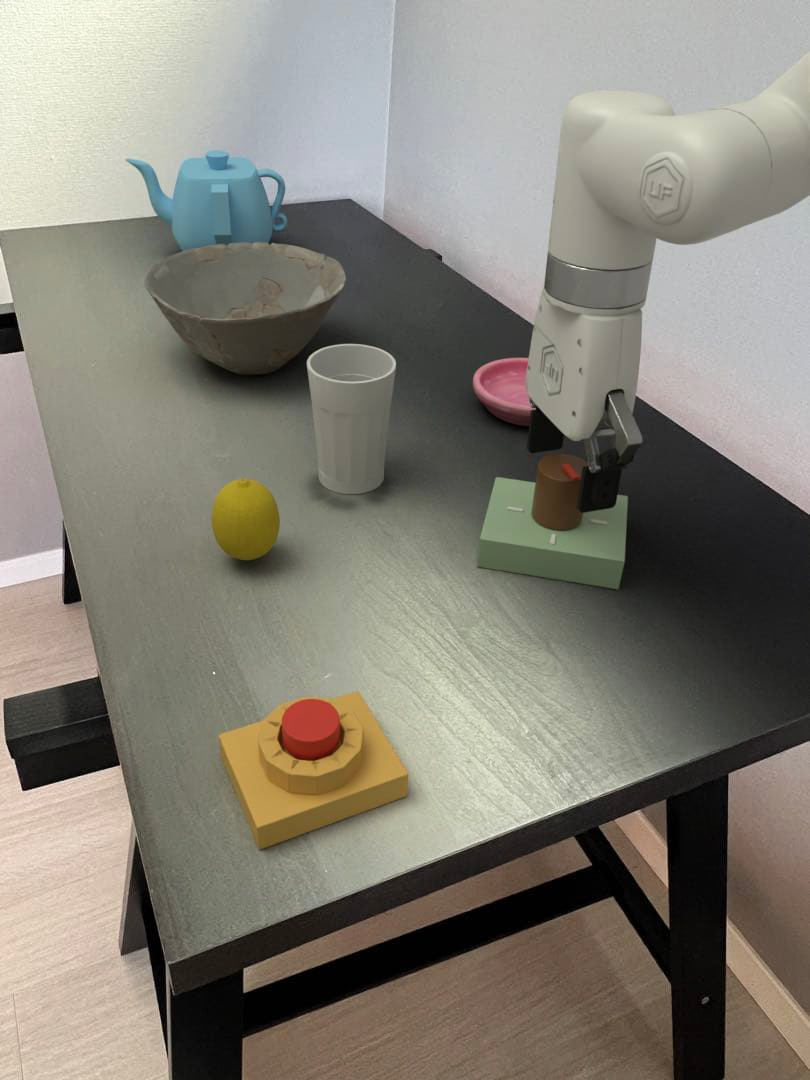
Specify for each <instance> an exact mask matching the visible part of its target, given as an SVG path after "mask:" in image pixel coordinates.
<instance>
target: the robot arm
mask: <svg viewBox="0 0 810 1080" xmlns="http://www.w3.org/2000/svg"><path fill="white" fill-rule="evenodd" d="M809 196H810V50H809V51H808V52H807V53H806V54H804V55H803V57H801V58H800V59H799V60H798V61H797V62H795V64H793V66H792V67H790V68H789V69H788V70H787V71H785V72H784V73H783V74H782V75H781V76H780V77H778V78H777V79H776V80H775V81H773V83H771V84H770V85H769V86H768V87H767V88H765V90H764V89H763V91H762V92H760V93H759V94H757V95H756V96H755V97H753V98H752V99H751V100H746V101H742V102H735V103H732V104H727V105H722V106H719V107H714V108H711V109H707V110H703V111H696V112H691V113H686V114H680V115H676V113H675V110H674V108H673V106H672V105H671V104H670V103H669V102H668V101H667V100H666V99H664V98H662V97H660V96H658V95H655V94H651V93H647V92H642V91H636V90H635V91H634V90H623V89H602V90H591V91H587V92H583V93H581V94H577V95H576V96H575V97H573V98H572V99H571V100H570V102H569V103H568V104H567V105H566V107H565V109H564V112H563V114H562V119H561V126H560V134H559V142H558V151H557V162H556V171H555V180H554V189H553V199H552V209H551V218H550V228H549V237H548V246H547V256H546V265H545V273H544V282H543V284H544V285H543V288H542V291H541V294H540V297H539V301H538V305H537V309H536V314H535V318H534V323H533V329H532V334H531V340H530V346H529V353H528V358H529V359H528V366H527V374H526V391H527V393H528V395H529V397H530V399H529V401H530V406H531V407H532V408H536V409H535V410H531V414H530V423H529V426H528V433H527V435H528V436H527V443H526V449H527V451H528V452H529V453H530V454H538V453H544V452H552V451H557V450H561V449H562V448H563V445H564V439H565V437H566V438H568V439H569V440H571V441H572V442H580V441H583V445H584V451H585V456H586V462H587V463H588V466H585V467H583V468H582V475H581V481H580V488H579V495H578V502H577V509H578V510H579V511H580V512H581V513H586V512H592V511H597V510H603V509H609V508H613V507H614V506H615V505H616V500H617V495H619V488H620V483H621V477H622V471H623V470H624V469H627V467H628V465H629V464H630V463H632V462H633V461H634V459H635V455H636V453H637V452H638V450H639V449H640V447H641V446H642V444H643V436H642V433H641V431H640V428H639V426H638V424H637V422H636V420H635V416H634V415H633V414H634V413H633V412H634V408H635V402H636V396H637V390H638V383H639V382H638V381H639V372H640V363H641V353H642V352H641V351H642V336H643V311H642V309H643V308H644V307H645V305H646V302H647V296H648V290H649V283H650V278H651V274H652V268H653V267H652V266H653V261H654V256H655V251H656V245H657V240H659V241H662V242H665V243H669V244H673V245H680V246H689V245H697V244H701V243H705V242H708V241H711V240H714V239H716V238H719V237H721V236H725V235H726V234H730V233H732V232H734V231H736V230H737V231H738V230H739V229H741V228H744V227H746V226H749V225H751V224H755V223H757V222H759V221H762V220H765V219H769V218H771V217H774V216H776V215H779V214H781V213H783V212H785V211H787V210H790V209H791V208H792V207H794V206H796V205H798V204H799V203H801V202H802V201H804V200H805V199H807V198H808V197H809ZM600 423H604V424H605V425H606V426H607V427H605V428H598V426H599V424H600ZM597 428H598V429H597ZM608 438H609V443H610V448H608V449H607V450H605V451H604V452H602V453H601V454H600V449H599V444H598V440H601V439H608Z"/></svg>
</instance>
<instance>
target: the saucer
mask: <svg viewBox="0 0 810 1080" xmlns="http://www.w3.org/2000/svg"><path fill="white" fill-rule="evenodd" d="M528 359H529V357H510V358H509V357H507V358H502V359H496V360H493V361H490V362H487V363H486V364H484V365H482V366H480V367H479V368H478V369H477V370H476V371H475V372H474V375H473V377H472V389H473V392H474V393H475V395H476V397H477V398H478V400H479V401H480V402H481V403H482V405H484V406H485V408H486V410H487V411H488V412H489V413H490V414H491V415H493V416H494V417H496V418H497V419H499V420H501V421H504V422H506V423H509V424H513V425H517V426H525V427H529V423H530V414H531V410H535V409H536V408H532V407H531V406H530V401H529V399H530V397H529V395H528V393H527V391H526V374H527V366H528Z"/></svg>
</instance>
